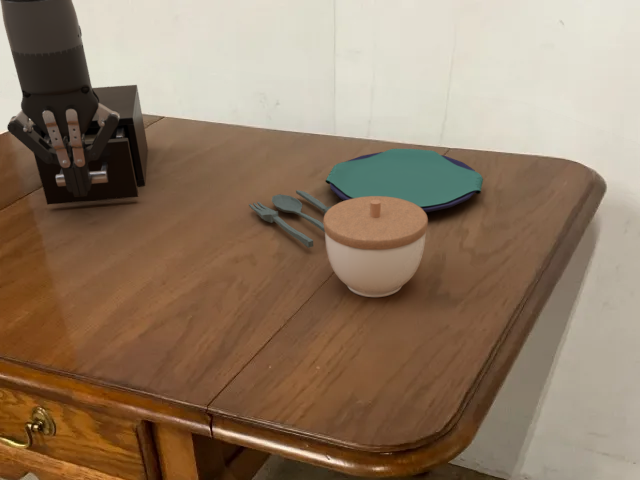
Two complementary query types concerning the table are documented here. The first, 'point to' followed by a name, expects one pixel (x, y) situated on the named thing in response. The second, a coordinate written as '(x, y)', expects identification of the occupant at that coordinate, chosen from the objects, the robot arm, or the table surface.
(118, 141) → the open drawer with handle
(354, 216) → the trinket box
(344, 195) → the cutlery set
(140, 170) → the dark wood drawer unit
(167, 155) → the table surface
